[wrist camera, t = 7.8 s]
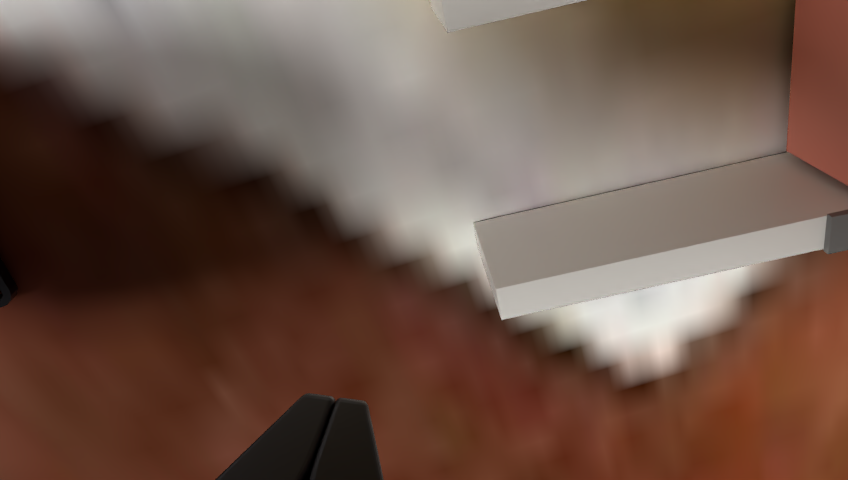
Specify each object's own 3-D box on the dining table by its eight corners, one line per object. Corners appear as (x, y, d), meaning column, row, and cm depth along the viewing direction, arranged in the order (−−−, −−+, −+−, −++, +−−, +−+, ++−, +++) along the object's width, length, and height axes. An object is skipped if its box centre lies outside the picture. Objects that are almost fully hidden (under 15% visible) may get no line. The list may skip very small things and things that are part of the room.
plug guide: (478, 251, 20) (502, 325, 17) (423, -34, 16) (438, -18, 13) (1056, 121, 20) (1214, 169, 16) (1145, -206, 16) (1382, -242, 12)
